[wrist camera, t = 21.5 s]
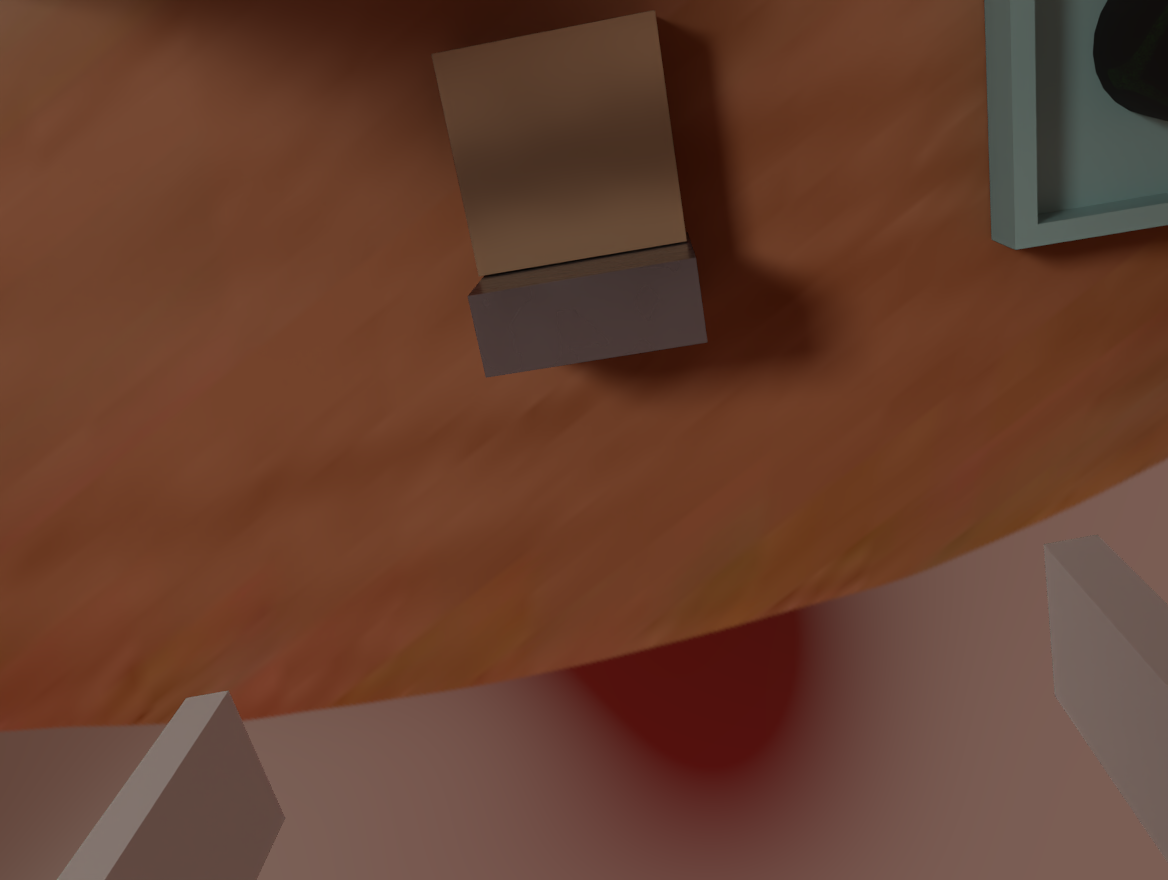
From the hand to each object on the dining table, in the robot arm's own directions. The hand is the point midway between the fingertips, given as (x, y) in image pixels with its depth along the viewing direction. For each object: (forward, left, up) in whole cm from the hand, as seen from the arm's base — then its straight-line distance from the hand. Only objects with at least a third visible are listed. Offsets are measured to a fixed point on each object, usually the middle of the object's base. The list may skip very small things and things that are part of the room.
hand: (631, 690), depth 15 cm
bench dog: (-2, -1, -26) cm, 26 cm away
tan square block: (-7, -2, -26) cm, 27 cm away
